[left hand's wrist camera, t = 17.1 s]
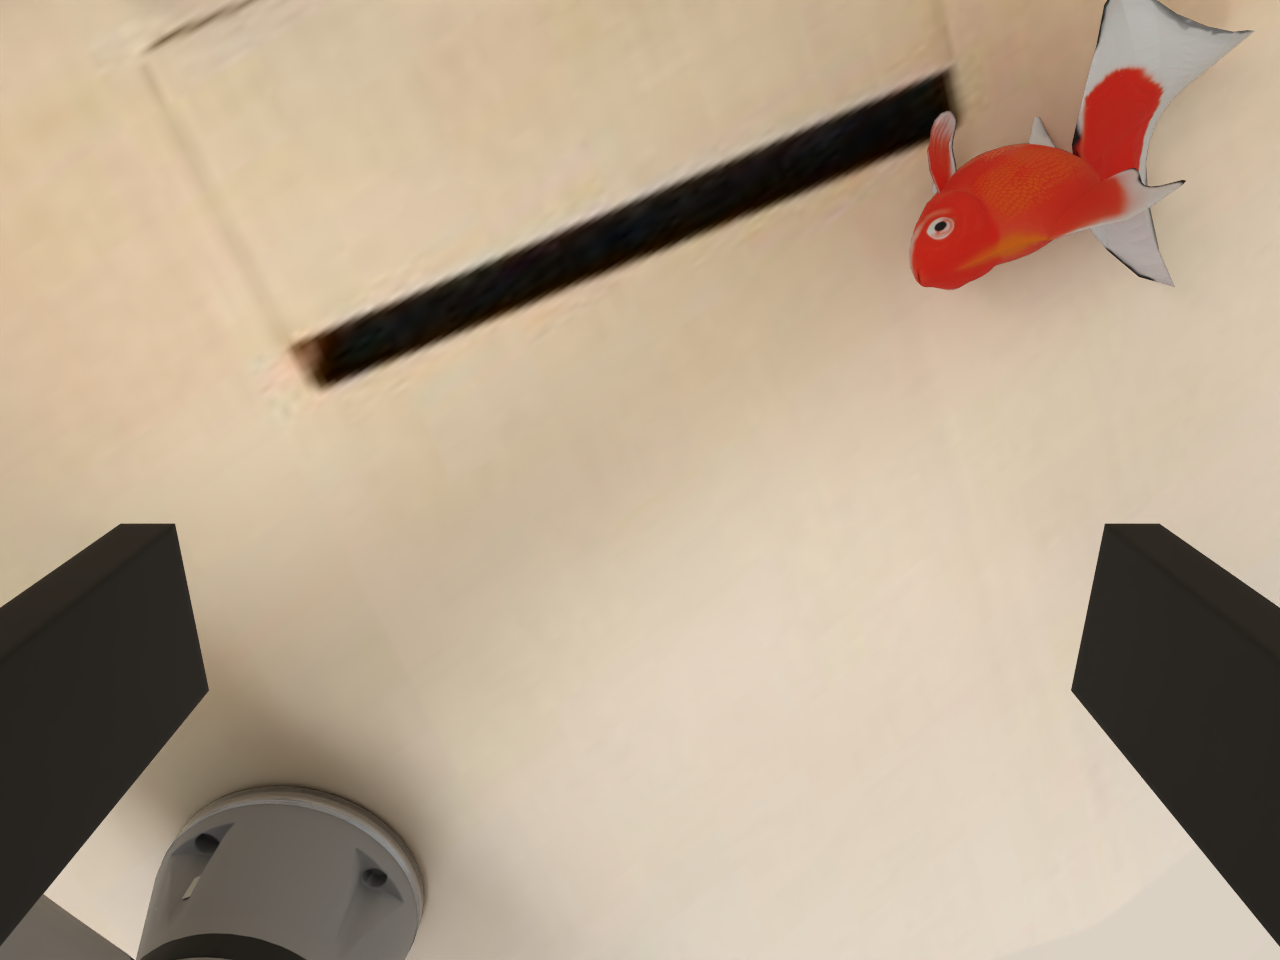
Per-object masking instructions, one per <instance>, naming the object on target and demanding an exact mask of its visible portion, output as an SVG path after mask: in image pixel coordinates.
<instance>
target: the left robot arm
mask: <svg viewBox="0 0 1280 960" xmlns="http://www.w3.org/2000/svg"><path fill="white" fill-rule="evenodd" d="M208 691H209V689H208V684H207V679H206V674H205V669H204V664H203V659H202V654H201V649H200V644H199V640H198V635H197V630H196V625H195V620H194V615H193V610H192V605H191V600H190V595H189V590H188V585H187V581H186V576H185V571H184V566H183V561H182V556H181V551H180V546H179V541H178V536H177V531H176V526H175V524H120V525H118V526H117V527H115V528H114V529H112V530H111V531H110V532H108V533H107V534H105V535H104V536H102V537H101V538H100V539H98V540H97V541H95V542H94V543H92V544H91V545H90V546H88V547H87V548H85V549H84V550H82V551H81V552H80V553H78V554H77V555H75V556H74V557H72V558H71V559H69V560H68V561H67V562H65V563H64V564H62V565H61V566H59V567H58V568H57V569H55V570H54V571H52V572H51V573H49V574H48V575H47V576H45V577H44V578H42V579H41V580H39V581H38V582H37V583H35V584H34V585H32V586H31V587H29V588H28V589H27V590H25V591H24V592H22V593H21V594H19V595H18V596H16V597H15V598H14V599H12V600H11V601H9V602H8V603H6V604H5V605H4V606H2V607H1V608H0V960H134V959H133V958H131V957H130V956H129V955H128V954H127V953H125V952H124V951H122V950H121V949H120V948H118V947H117V946H115V945H114V944H112V943H111V942H110V941H108V940H107V939H105V938H104V937H102V936H101V935H100V934H98V933H97V932H95V931H94V930H92V929H91V928H90V927H88V926H87V925H85V924H84V923H82V922H81V921H80V920H78V919H77V918H75V917H74V916H72V915H71V914H70V913H68V912H67V911H66V910H64V909H63V908H62V907H60V906H59V905H57V904H56V903H55V902H53V901H52V900H51V899H49V898H48V897H46V896H45V895H44V894H43V893H44V892H45V891H46V890H47V889H48V887H49V886H50V885H51V884H52V882H53V881H54V880H55V879H56V877H57V876H58V875H59V874H60V873H61V871H62V870H63V869H64V868H65V866H66V865H67V864H68V863H69V862H70V860H71V859H72V858H73V857H74V855H75V854H76V853H77V852H78V850H79V849H80V848H81V847H82V846H83V844H84V843H85V842H86V841H87V839H88V838H89V837H90V836H91V835H92V833H93V832H94V831H95V830H96V828H97V827H98V826H99V825H100V823H101V822H102V821H103V820H104V819H105V817H106V816H107V815H108V814H109V812H110V811H111V810H112V809H113V808H114V806H115V805H116V804H117V803H118V801H119V800H120V799H121V798H122V796H123V795H124V794H125V793H126V792H127V790H128V789H129V788H130V787H131V785H132V784H133V783H134V782H135V780H136V779H137V778H138V777H139V776H140V774H141V773H142V772H143V771H144V769H145V768H146V767H147V766H148V765H149V763H150V762H151V761H152V760H153V758H154V757H155V756H156V755H157V753H158V752H159V751H160V750H161V749H162V747H163V746H164V745H165V744H166V742H167V741H168V740H169V739H170V738H171V736H172V735H173V734H174V733H175V731H176V730H177V729H178V728H179V726H180V725H181V724H182V723H183V722H184V720H185V719H186V718H187V717H188V715H189V714H190V713H191V712H192V711H193V709H194V708H195V707H196V706H197V704H198V703H199V702H200V701H201V699H202V698H203V697H204V696H205V695H206V693H207V692H208ZM1071 691H1072V692H1073V693H1074V695H1075V696H1076V697H1077V698H1078V699H1079V701H1080V702H1081V703H1082V704H1083V706H1084V707H1085V708H1086V709H1087V711H1088V712H1089V713H1090V714H1091V715H1092V717H1093V718H1094V719H1095V720H1096V722H1097V723H1098V724H1099V725H1100V726H1101V728H1102V729H1103V730H1104V731H1105V733H1106V734H1107V735H1108V736H1109V738H1110V739H1111V740H1112V741H1113V742H1114V744H1115V745H1116V746H1117V747H1118V749H1119V750H1120V751H1121V752H1122V753H1123V755H1124V756H1125V757H1126V758H1127V760H1128V761H1129V762H1130V763H1131V765H1132V766H1133V767H1134V768H1135V769H1136V771H1137V772H1138V773H1139V774H1140V776H1141V777H1142V778H1143V779H1144V780H1145V782H1146V783H1147V784H1148V785H1149V787H1150V788H1151V789H1152V790H1153V792H1154V793H1155V794H1156V795H1157V796H1158V798H1159V799H1160V800H1161V801H1162V803H1163V804H1164V805H1165V806H1166V808H1167V809H1168V810H1169V811H1170V812H1171V814H1172V815H1173V816H1174V817H1175V819H1176V820H1177V821H1178V822H1179V823H1180V825H1181V826H1182V827H1183V828H1184V830H1185V831H1186V832H1187V833H1188V835H1189V836H1190V837H1191V838H1192V839H1193V841H1194V842H1195V843H1196V844H1197V846H1198V847H1199V848H1200V849H1201V850H1202V852H1203V853H1204V854H1205V855H1206V857H1207V858H1208V859H1209V860H1210V862H1211V863H1212V864H1213V865H1214V866H1215V868H1216V869H1217V870H1218V871H1219V873H1220V874H1221V875H1222V876H1223V877H1224V879H1225V880H1226V881H1227V882H1228V884H1229V885H1230V886H1231V887H1232V889H1233V890H1234V891H1235V892H1236V893H1237V895H1238V896H1239V897H1240V898H1241V900H1242V901H1243V902H1244V903H1245V904H1246V906H1247V907H1248V908H1249V909H1250V911H1251V912H1252V913H1253V914H1254V916H1255V917H1256V918H1257V919H1258V920H1259V922H1260V923H1261V924H1262V925H1263V927H1264V928H1265V929H1266V930H1267V931H1268V933H1269V934H1270V935H1271V936H1272V938H1273V939H1274V940H1275V941H1276V943H1277V944H1278V945H1279V946H1280V608H1279V607H1278V606H1276V605H1275V604H1274V603H1272V602H1271V601H1269V600H1268V599H1266V598H1265V597H1264V596H1262V595H1261V594H1259V593H1258V592H1256V591H1255V590H1253V589H1252V588H1251V587H1249V586H1248V585H1246V584H1245V583H1243V582H1242V581H1241V580H1239V579H1238V578H1236V577H1235V576H1233V575H1232V574H1231V573H1229V572H1228V571H1226V570H1225V569H1223V568H1222V567H1221V566H1219V565H1218V564H1216V563H1215V562H1213V561H1212V560H1211V559H1209V558H1208V557H1206V556H1205V555H1203V554H1202V553H1200V552H1199V551H1198V550H1196V549H1195V548H1193V547H1192V546H1190V545H1189V544H1188V543H1186V542H1185V541H1183V540H1182V539H1180V538H1179V537H1178V536H1176V535H1175V534H1173V533H1172V532H1170V531H1169V530H1168V529H1166V528H1165V527H1163V526H1162V525H1160V524H1105V526H1104V531H1103V536H1102V541H1101V546H1100V551H1099V556H1098V561H1097V566H1096V571H1095V576H1094V581H1093V585H1092V590H1091V595H1090V600H1089V605H1088V610H1087V615H1086V620H1085V625H1084V630H1083V635H1082V640H1081V644H1080V649H1079V654H1078V659H1077V664H1076V669H1075V674H1074V679H1073V684H1072V689H1071ZM423 905H424V890H423V883H422V878H421V874H420V872H419V869H418V866H417V864H416V862H415V860H414V858H413V856H412V854H411V852H410V851H409V849H408V848H407V846H406V845H405V844H404V842H403V841H402V840H401V838H400V837H399V836H398V835H397V834H396V833H395V832H394V831H393V830H392V829H391V828H390V827H389V826H388V825H386V824H385V823H384V822H383V821H382V820H380V819H379V818H378V817H376V816H375V815H374V814H372V813H370V812H369V811H367V810H366V809H364V808H362V807H360V806H358V805H356V804H354V803H353V802H350V801H348V800H346V799H343V798H341V797H338V796H335V795H332V794H329V793H326V792H322V791H318V790H314V789H308V788H302V787H292V786H266V787H257V788H251V789H246V790H242V791H238V792H235V793H232V794H229V795H226V796H224V797H222V798H220V799H218V800H216V801H214V802H212V803H210V804H209V805H207V806H206V807H204V808H203V809H201V810H200V811H199V812H197V813H196V814H195V815H194V816H193V817H192V818H191V819H190V820H189V821H188V823H187V824H186V825H185V826H184V827H183V829H182V830H181V832H180V833H179V835H178V836H177V838H176V839H175V841H174V842H173V843H172V845H171V846H170V848H169V850H168V851H167V853H166V855H165V857H164V859H163V861H162V864H161V866H160V869H159V871H158V873H157V876H156V879H155V883H154V887H153V891H152V896H151V900H150V904H149V908H148V912H147V916H146V920H145V924H144V929H143V933H142V937H141V941H140V945H139V949H138V953H137V958H136V960H405V958H406V956H407V954H408V952H409V950H410V949H411V946H412V944H413V942H414V939H415V936H416V932H417V929H418V926H419V922H420V919H421V915H422V911H423Z"/></svg>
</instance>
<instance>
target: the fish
mask: <svg viewBox="0 0 1280 960" xmlns="http://www.w3.org/2000/svg"><path fill="white" fill-rule="evenodd" d="M1253 32H1254V31H1249V30H1246V31H1237V32H1231V31H1226V30H1222V29H1217V28H1212V27H1207V26H1205V25H1202V24H1200V23H1198V22H1195V21H1193V20H1190V19H1188V18H1185V17H1183V16H1180V15H1178V14H1176V13H1175V12H1173V11H1172V10H1170V9H1169V8H1167V7H1166V6H1164V5H1163V4H1161V3H1160V2H1158V1H1157V0H1107V2H1106V3H1105V5H1104V10H1103V15H1102V20H1101V26H1100V31H1099V36H1098V41H1097V46H1096V49H1095V53H1094V57H1093V60H1092V64H1091V67H1090V71H1089V74H1088V78H1087V83H1086V87H1085V91H1084V95H1083V99H1082V103H1081V108H1080V112H1079V116H1078V120H1077V125H1076V129H1075V134H1074V138H1073V142H1072V150H1073V154H1071V153H1068V152H1066V151H1063V150H1061V149H1058V148H1056V146H1055V144H1054V143H1053V141H1052V140H1051V138H1050V137H1049V135H1048V133H1047V131H1046V130H1045V127H1044V125H1043V123H1042V121H1041V119H1040V117H1035V118H1034V122H1033V126H1032V130H1031V134H1030V139H1029V144H1016V145H1009V146H1004V147H1001V148H998V149H994V150H991V151H988V152H985V153H983V154H981V155H978V156H977V157H975V158H973V159H972V160H970V161H969V162H967V163H966V164H964V165H963V166H962V167H961V168H959V169H958V170H957V171H956V164H955V159H954V154H953V148H952V146H953V138H954V133H955V129H956V118H955V116H954V115H953V113H952V111H946V112H943V113H941V114H939V116H938V117H937V118H936V119H935V120H934V123H933V126H932V129H931V138H930V143H929V147H928V150H927V152H928V161H929V169H930V173H931V175H932V178H933V181H934V184H933V188H932V192H933V194H934V197H933V198H932V199H931V200H930V201H929V202H928V203H927V204H926V206H925V208H924V210H923V212H922V214H921V216H920V218H919V220H918V222H917V224H916V227H915V229H914V232H913V236H912V239H911V244H910V267H911V270H912V273H913V275H914V277H915V279H916V281H917V282H918V283H919V284H920V285H922V286H924V287H935V288H941V289H945V290H954V289H958V288H960V287H961V286H963V285H965V284H966V283H968V282H970V281H973V280H975V279H977V278H979V277H981V276H983V275H985V274H986V273H988V272H989V271H990V270H991V269H992V268H993V267H994V266H996V265H999V264H1002V263H1005V262H1009V261H1012V260H1016V259H1018V258H1021V257H1023V256H1026V255H1028V254H1031V253H1033V252H1035V251H1037V250H1038V249H1040V248H1042V247H1043V246H1045V245H1046V244H1048V243H1049V242H1051V241H1052V240H1053V239H1056V238H1059V237H1063V236H1066V235H1069V234H1072V233H1075V232H1079V231H1082V230H1086V229H1090V230H1091V231H1092V233H1093V234H1094V236H1095V237H1096V238H1097V239H1098V240H1099V242H1100V243H1101V244H1102V245H1103V246H1104V247H1105V248H1106V249H1107V250H1108V251H1109V252H1110V253H1111V254H1113V255H1114V256H1115V257H1116V258H1117V259H1119V260H1120V261H1121V262H1122V263H1123V264H1124V265H1126V266H1127V267H1128V268H1129V269H1130V270H1132V271H1133V272H1134V273H1135V274H1136V275H1137V276H1139V277H1142V278H1145V279H1149V280H1152V281H1156V282H1159V283H1163V284H1166V285H1170V286H1174V284H1173V282H1172V280H1171V277H1170V275H1169V273H1168V271H1167V268H1166V266H1165V264H1164V261H1163V259H1162V257H1161V254H1160V252H1159V248H1158V243H1157V238H1156V234H1155V229H1154V225H1153V220H1152V216H1151V211H1150V207H1151V206H1153V205H1154V204H1156V203H1157V202H1158V201H1160V200H1161V199H1163V198H1164V197H1166V196H1167V195H1168V194H1170V193H1171V192H1173V191H1174V190H1175V189H1177V188H1178V187H1180V186H1181V185H1182V184H1184V183H1185V180H1181V181H1177V182H1173V183H1170V184H1166V185H1162V186H1153V187H1150V186H1147V173H1146V159H1147V152H1148V146H1149V142H1150V138H1151V135H1152V133H1153V130H1154V128H1155V125H1156V123H1157V121H1158V119H1159V118H1160V116H1161V114H1162V113H1163V111H1164V110H1165V108H1166V107H1167V106H1168V104H1169V103H1170V102H1171V101H1172V100H1173V99H1174V97H1175V96H1176V95H1177V94H1178V93H1179V92H1180V91H1181V90H1182V89H1183V88H1185V87H1186V86H1187V85H1188V84H1190V83H1191V82H1192V81H1194V80H1195V79H1196V78H1197V77H1199V76H1200V75H1201V74H1202V73H1204V72H1205V71H1206V70H1207V69H1209V68H1210V67H1211V66H1212V65H1214V64H1215V63H1216V62H1217V61H1219V60H1220V59H1221V58H1222V57H1223V56H1225V55H1226V54H1227V53H1228V52H1229V51H1231V50H1232V49H1233V48H1234V47H1236V46H1237V45H1238V44H1239V43H1241V42H1242V41H1243V40H1244V39H1245V38H1247V37H1248V36H1249V35H1250V34H1251V33H1253Z"/></svg>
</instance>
